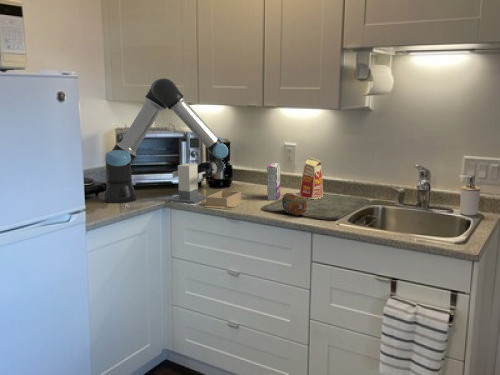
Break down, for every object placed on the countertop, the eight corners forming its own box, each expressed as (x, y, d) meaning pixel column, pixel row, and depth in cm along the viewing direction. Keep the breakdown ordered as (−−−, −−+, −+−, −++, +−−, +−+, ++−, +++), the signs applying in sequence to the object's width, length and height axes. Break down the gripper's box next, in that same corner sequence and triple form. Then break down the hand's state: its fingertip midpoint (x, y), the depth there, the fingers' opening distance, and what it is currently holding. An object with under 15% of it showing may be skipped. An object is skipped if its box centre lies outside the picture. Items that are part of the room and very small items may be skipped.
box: (179, 198, 245) (177, 165, 242) (187, 195, 253) (186, 163, 250) (190, 199, 243) (189, 166, 240) (198, 196, 250) (197, 163, 247)
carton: (196, 206, 234) (195, 197, 233) (218, 196, 254) (218, 188, 254) (230, 209, 227) (230, 200, 226) (250, 199, 248) (250, 191, 247)
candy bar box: (270, 195, 256) (270, 162, 253) (280, 195, 255) (280, 163, 252) (266, 200, 245) (266, 166, 242) (277, 200, 244) (277, 166, 241)
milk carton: (299, 197, 250) (299, 157, 246) (309, 194, 257) (310, 155, 253) (314, 200, 244) (315, 158, 241) (325, 197, 251) (326, 156, 248)
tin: (281, 210, 225) (281, 191, 223) (287, 209, 226) (287, 190, 225) (301, 217, 212) (301, 197, 210) (307, 216, 214) (308, 196, 212)
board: (168, 201, 244) (168, 199, 244) (183, 195, 257) (183, 193, 257) (194, 203, 239) (194, 201, 239) (208, 197, 252) (208, 195, 251)
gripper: (228, 177, 258) (209, 185, 239) (185, 175, 268) (163, 181, 249) (228, 163, 257) (208, 169, 238) (185, 160, 267) (162, 166, 248)
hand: (185, 175), depth 243 cm, fingers open, 13 cm apart
